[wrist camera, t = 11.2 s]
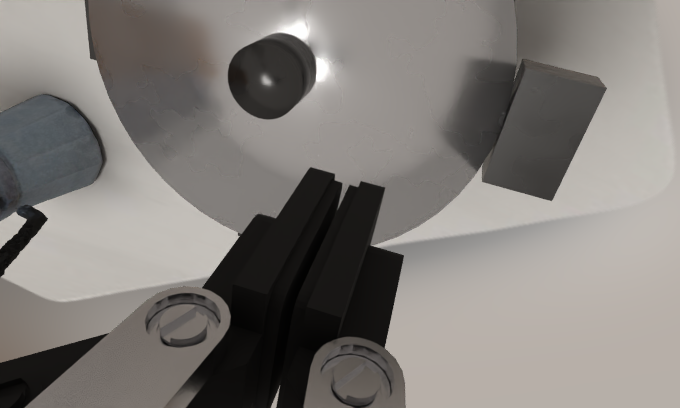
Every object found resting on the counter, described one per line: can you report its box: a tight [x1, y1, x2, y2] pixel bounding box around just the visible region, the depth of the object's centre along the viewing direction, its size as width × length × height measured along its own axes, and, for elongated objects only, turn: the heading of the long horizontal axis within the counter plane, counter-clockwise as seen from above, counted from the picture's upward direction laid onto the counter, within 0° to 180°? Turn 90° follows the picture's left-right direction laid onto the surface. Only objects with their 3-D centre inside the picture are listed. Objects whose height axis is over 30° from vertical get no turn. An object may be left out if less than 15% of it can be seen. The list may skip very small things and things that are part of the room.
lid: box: [88, 0, 607, 246], centre depth 20 cm, size 22×19×4 cm
